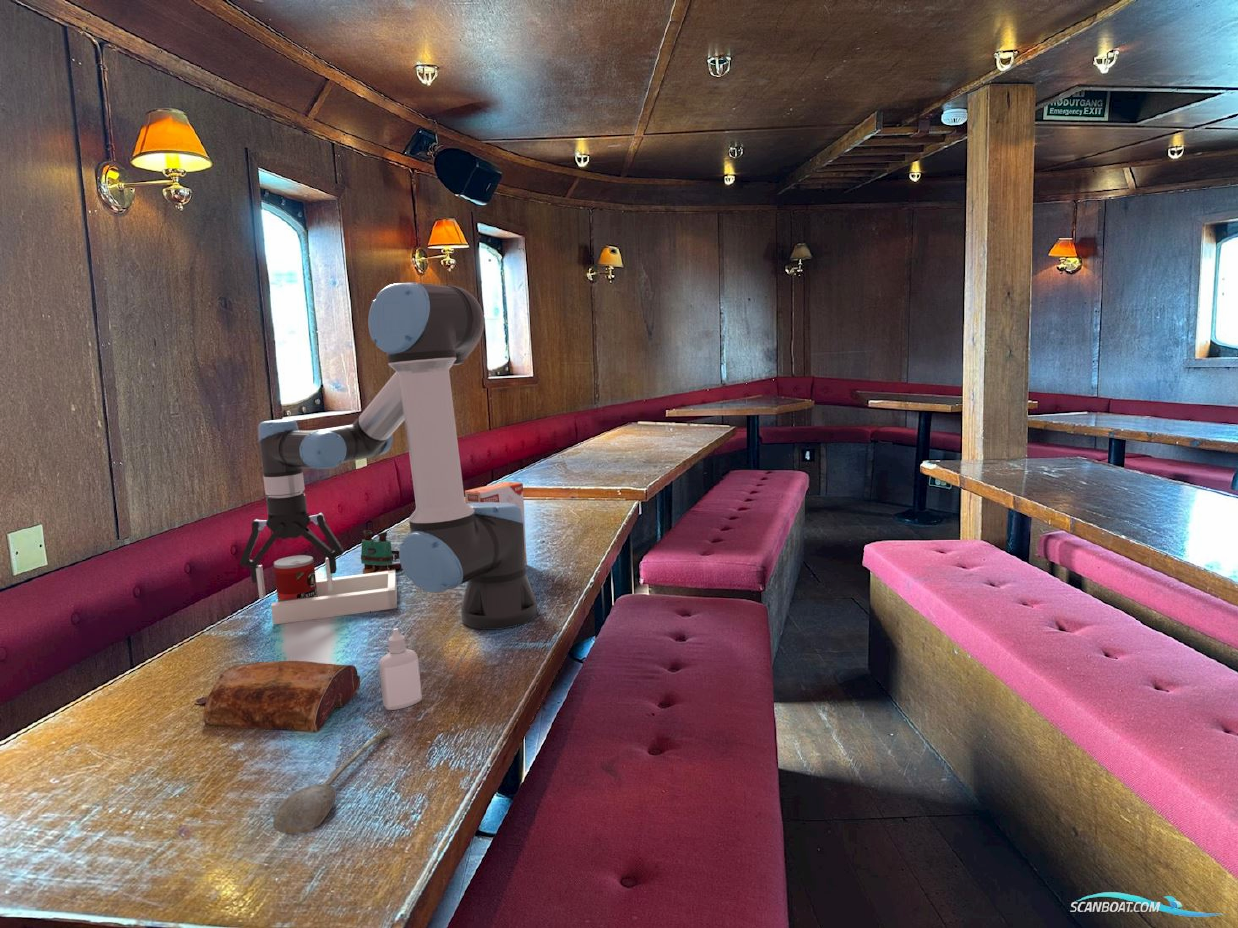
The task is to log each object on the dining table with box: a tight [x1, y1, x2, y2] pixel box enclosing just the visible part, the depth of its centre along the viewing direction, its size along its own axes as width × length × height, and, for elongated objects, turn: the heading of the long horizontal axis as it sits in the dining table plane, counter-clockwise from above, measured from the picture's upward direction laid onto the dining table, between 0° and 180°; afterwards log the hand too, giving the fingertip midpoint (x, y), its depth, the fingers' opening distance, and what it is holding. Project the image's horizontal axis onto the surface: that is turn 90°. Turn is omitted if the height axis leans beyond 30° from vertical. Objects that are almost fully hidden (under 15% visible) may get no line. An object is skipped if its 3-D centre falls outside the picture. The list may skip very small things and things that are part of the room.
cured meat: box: [194, 660, 361, 733], centre depth 116 cm, size 18×25×7 cm
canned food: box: [273, 554, 318, 602], centre depth 157 cm, size 8×8×11 cm
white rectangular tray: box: [270, 569, 398, 626], centre depth 160 cm, size 15×24×4 cm, turn 106°
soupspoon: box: [273, 726, 393, 835], centre depth 94 cm, size 22×3×7 cm
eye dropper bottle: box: [378, 627, 423, 711], centre depth 113 cm, size 4×6×12 cm
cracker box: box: [464, 481, 528, 566], centre depth 178 cm, size 14×6×21 cm, turn 143°
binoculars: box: [360, 530, 403, 574], centre depth 184 cm, size 9×11×10 cm
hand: (297, 592), depth 158 cm, fingers open, 13 cm apart
